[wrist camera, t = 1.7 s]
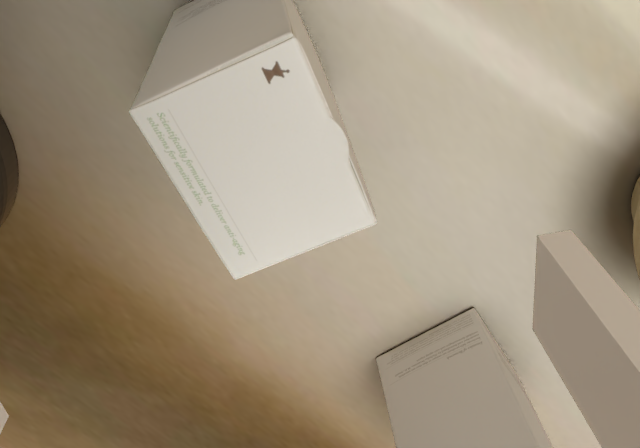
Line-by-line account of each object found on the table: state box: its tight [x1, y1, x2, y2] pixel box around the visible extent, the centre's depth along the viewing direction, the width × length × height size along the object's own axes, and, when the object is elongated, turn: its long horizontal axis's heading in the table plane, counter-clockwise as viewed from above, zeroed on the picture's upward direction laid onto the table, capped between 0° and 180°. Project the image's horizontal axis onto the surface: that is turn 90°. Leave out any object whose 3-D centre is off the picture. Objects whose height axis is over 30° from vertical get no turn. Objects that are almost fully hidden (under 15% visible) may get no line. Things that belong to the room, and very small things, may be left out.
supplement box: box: [376, 308, 553, 448], centre depth 42 cm, size 9×9×15 cm
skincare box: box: [129, 0, 377, 279], centre depth 28 cm, size 8×7×16 cm
